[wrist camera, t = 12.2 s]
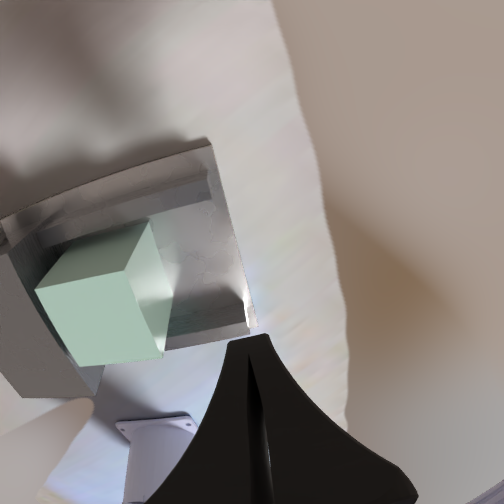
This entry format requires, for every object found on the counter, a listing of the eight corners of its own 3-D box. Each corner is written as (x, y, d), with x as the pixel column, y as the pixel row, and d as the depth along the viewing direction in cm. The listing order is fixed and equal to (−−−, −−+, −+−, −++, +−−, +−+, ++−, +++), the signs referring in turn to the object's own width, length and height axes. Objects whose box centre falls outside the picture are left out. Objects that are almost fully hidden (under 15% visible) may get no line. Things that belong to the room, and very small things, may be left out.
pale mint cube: (173, 295, 19) (162, 358, 14) (104, 308, 19) (79, 366, 14) (148, 221, 17) (124, 270, 12) (74, 240, 17) (34, 289, 12)
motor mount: (257, 321, 22) (269, 382, 17) (47, 358, 22) (25, 406, 17) (207, 126, 16) (202, 136, 11) (-28, 218, 16) (-74, 253, 11)
